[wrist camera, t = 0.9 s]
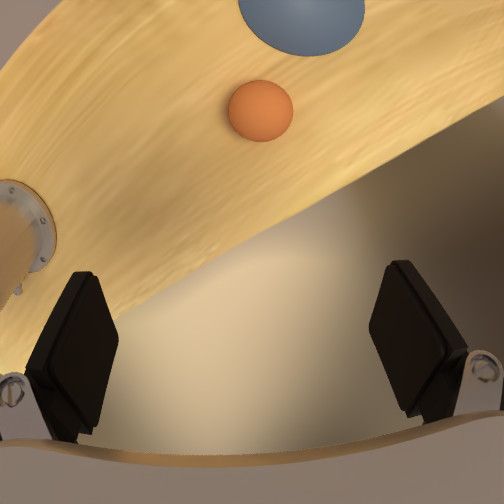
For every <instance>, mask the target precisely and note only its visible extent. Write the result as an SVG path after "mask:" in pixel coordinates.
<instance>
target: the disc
mask: <svg viewBox="0 0 504 504" xmlns="http://www.w3.org/2000/svg"><path fill="white" fill-rule="evenodd" d="M239 6H240V10H241V13H242V15H243V18H244V20H245V21H246V23H247V25H248V26H249V27H250V29H251V30H252V31H253V32H254V33H255V34H256V35H257V36H258V37H259V38H260V39H261V40H263V41H264V42H265V43H267V44H268V45H270V46H272V47H274V48H276V49H278V50H280V51H283V52H286V53H289V54H294V55H299V56H318V55H324V54H328V53H331V52H334V51H336V50H338V49H340V48H342V47H344V46H345V45H346V44H348V43H349V42H350V41H351V40H352V39H353V38H354V37H355V35H356V34H357V33H358V31H359V29H360V27H361V25H362V22H363V19H364V13H365V3H364V0H239Z"/></svg>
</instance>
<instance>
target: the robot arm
mask: <svg viewBox="0 0 504 504" xmlns="http://www.w3.org/2000/svg"><path fill="white" fill-rule="evenodd" d="M55 246H56V231H55V226H54V222H53V219H52V217H51V214H50V212H49V210H48V208H47V207H46V205H45V204H44V202H43V201H42V199H41V198H40V197H39V196H38V195H37V194H36V193H35V192H34V191H33V190H31V189H30V188H29V187H27V186H26V185H24V184H22V183H20V182H17V181H14V180H3V181H0V312H1V310H2V308H3V307H4V305H5V304H6V302H7V300H8V299H9V297H10V296H11V294H12V293H13V292H14V294H15V295H21V294H22V292H23V291H22V284H21V282H22V281H23V279H24V278H25V276H26V275H27V273H33V272H37V271H39V270H41V269H42V268H43V267H45V266H46V265H47V263H48V262H49V261H50V259H51V258H52V255H53V253H54V251H55ZM369 333H370V335H371V338H372V340H373V342H374V345H375V346H376V349H377V352H378V354H379V356H380V359H381V361H382V364H383V366H384V369H385V371H386V374H387V376H388V379H389V381H390V384H391V386H392V389H393V391H394V394H395V397H396V399H397V401H398V404H399V407H400V409H401V410H402V411H405V413H406V415H407V418H411V417H414V416H418V415H422V417H423V420H424V421H423V424H422V426H418V427H414V428H410V429H407V430H403V431H399V432H395V433H391V434H386V435H382V436H378V437H373V438H369V439H364V440H359V441H354V442H348V443H343V444H337V445H331V446H324V447H318V448H310V449H302V450H294V451H285V452H274V453H260V454H242V455H176V454H175V455H174V454H157V453H145V452H134V451H125V450H116V449H108V448H100V447H93V446H86V445H80V444H78V442H77V437H78V433H82V434H89V435H92V431H93V427H96V426H97V425H98V422H99V418H100V414H101V409H102V405H103V400H104V396H105V392H106V388H107V384H108V380H109V376H110V372H111V369H112V365H113V361H114V357H115V354H116V350H117V346H118V342H119V339H118V333H117V330H116V328H115V325H114V323H113V320H112V317H111V314H110V312H109V309H108V306H107V303H106V300H105V297H104V294H103V291H102V288H101V285H100V282H99V279H98V277H97V276H94V275H93V273H92V272H90V271H82V272H74V273H73V274H72V276H71V278H70V279H69V281H68V283H67V285H66V287H65V288H64V290H63V292H62V294H61V296H60V297H59V299H58V301H57V303H56V305H55V307H54V309H53V311H52V313H51V315H50V316H49V318H48V320H47V322H46V324H45V326H44V328H43V330H42V333H41V335H40V337H39V339H38V341H37V343H36V345H35V347H34V349H33V352H32V354H31V356H30V358H29V360H28V363H27V365H26V367H25V368H26V370H25V373H24V375H23V374H22V373H18V372H11V373H8V374H5V375H4V376H2V377H1V378H0V504H504V377H503V368H502V365H501V363H500V362H499V360H498V359H497V358H496V357H495V356H494V355H492V354H490V353H488V352H486V351H482V350H476V351H474V352H471V353H470V354H469V353H468V352H467V348H468V346H467V344H466V342H465V341H464V339H463V338H462V336H461V334H460V333H459V331H458V330H457V328H456V327H455V325H454V323H453V322H452V320H451V319H450V317H449V316H448V314H447V313H446V311H445V310H444V308H443V307H442V305H441V304H440V302H439V301H438V299H437V298H436V296H435V295H434V293H433V292H432V291H431V289H430V288H429V286H428V285H427V284H426V282H425V281H424V279H423V278H422V277H421V275H420V274H419V273H418V271H417V270H416V268H415V267H414V266H413V264H412V263H411V262H410V261H409V260H394V261H392V262H391V264H390V265H388V266H387V267H386V269H385V273H384V277H383V280H382V283H381V287H380V290H379V294H378V297H377V300H376V303H375V307H374V310H373V313H372V316H371V319H370V322H369Z"/></svg>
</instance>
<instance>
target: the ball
mask: <svg viewBox="0 0 504 504" xmlns="http://www.w3.org/2000/svg"><path fill="white" fill-rule="evenodd" d="M229 118H230V121H231V124H232V125H233V127H234V129H235V130H236V131H237V132H238V133H239V134H240V135H241V136H243V137H244V138H246V139H249V140H252V141H256V142H267V141H271V140H274V139H276V138H278V137H279V136H281V135H282V134H283V133H284V132H285V131H286V130H287V129H288V127H289V126H290V124H291V121H292V118H293V105H292V101H291V99H290V97H289V95H288V94H287V92H286V91H285V90H284V89H283V88H281V87H280V86H279V85H277V84H275V83H273V82H269V81H264V80H258V81H252V82H249V83H247V84H245V85H243V86H242V87H240V88H239V89H238V90H237V91H236V92H235V93H234V95H233V96H232V99H231V101H230V104H229Z"/></svg>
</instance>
